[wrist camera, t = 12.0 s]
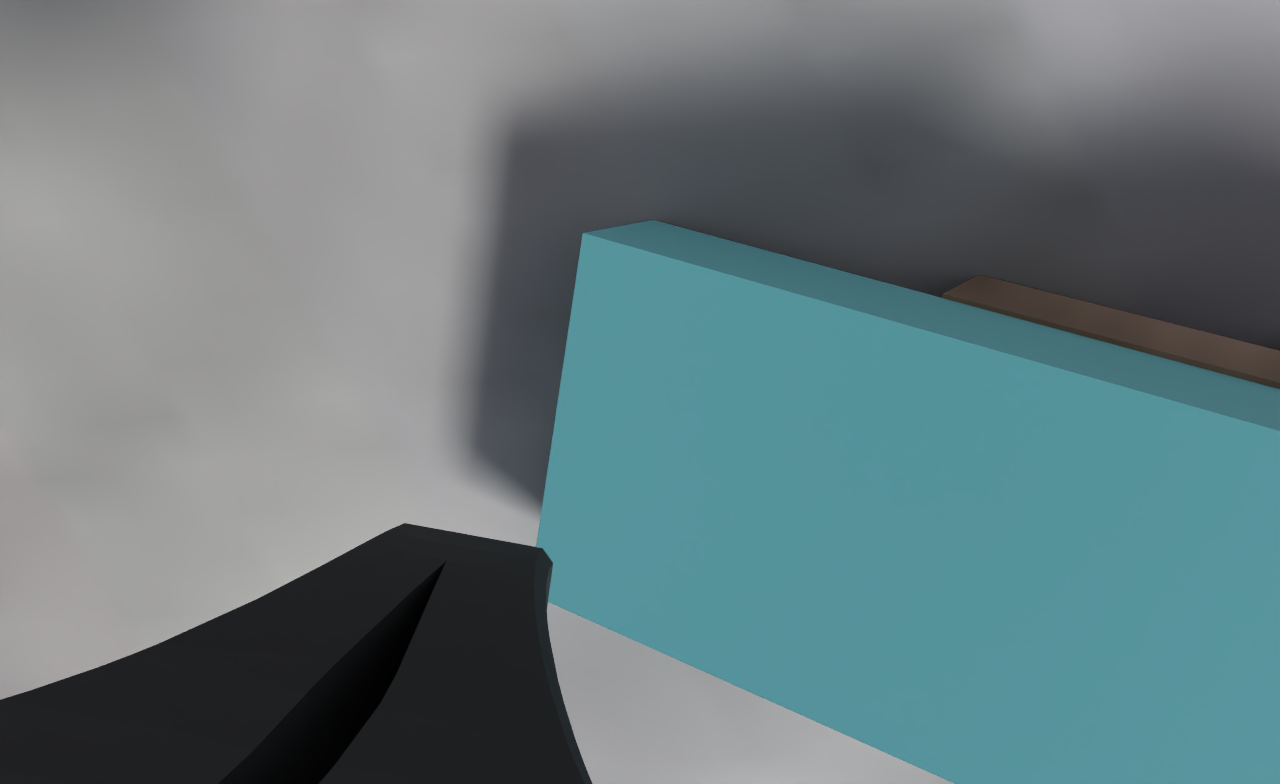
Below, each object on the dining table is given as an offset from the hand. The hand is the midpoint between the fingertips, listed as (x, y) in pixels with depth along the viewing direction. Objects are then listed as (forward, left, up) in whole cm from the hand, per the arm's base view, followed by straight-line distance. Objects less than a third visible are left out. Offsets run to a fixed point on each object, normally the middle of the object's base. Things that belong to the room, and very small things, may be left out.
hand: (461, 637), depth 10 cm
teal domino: (0, 0, -6) cm, 6 cm away
